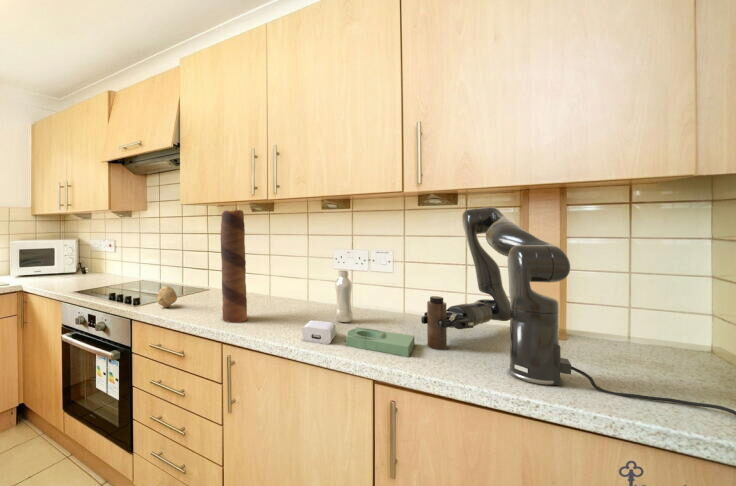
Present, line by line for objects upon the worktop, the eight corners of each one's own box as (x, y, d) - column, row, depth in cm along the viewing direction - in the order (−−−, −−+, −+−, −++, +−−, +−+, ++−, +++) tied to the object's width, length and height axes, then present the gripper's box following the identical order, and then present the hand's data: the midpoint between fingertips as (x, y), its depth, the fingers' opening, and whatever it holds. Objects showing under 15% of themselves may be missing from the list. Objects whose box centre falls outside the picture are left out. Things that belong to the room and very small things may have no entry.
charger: (339, 331, 130) (330, 344, 117) (313, 328, 134) (302, 340, 121) (338, 318, 130) (330, 329, 117) (313, 315, 134) (302, 326, 121)
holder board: (414, 345, 115) (414, 335, 115) (408, 357, 105) (408, 346, 105) (353, 334, 126) (353, 326, 126) (342, 344, 116) (342, 335, 116)
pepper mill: (447, 346, 114) (447, 296, 113) (445, 350, 109) (445, 299, 109) (428, 343, 117) (428, 295, 116) (426, 347, 113) (426, 297, 112)
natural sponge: (180, 305, 174) (180, 285, 173) (171, 310, 165) (170, 288, 165) (164, 304, 177) (164, 284, 177) (154, 308, 169) (153, 287, 169)
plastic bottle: (340, 324, 139) (340, 272, 139) (332, 319, 146) (331, 270, 145) (356, 323, 140) (355, 272, 140) (346, 318, 147) (346, 269, 146)
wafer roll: (223, 324, 142) (221, 209, 141) (220, 317, 152) (218, 210, 151) (249, 322, 143) (248, 209, 142) (244, 315, 154) (243, 210, 153)
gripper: (443, 300, 126) (410, 305, 118) (488, 309, 113) (454, 315, 105) (443, 321, 126) (410, 328, 118) (488, 332, 113) (454, 341, 105)
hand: (431, 322), depth 112 cm, fingers closed on pepper mill, 5 cm apart
